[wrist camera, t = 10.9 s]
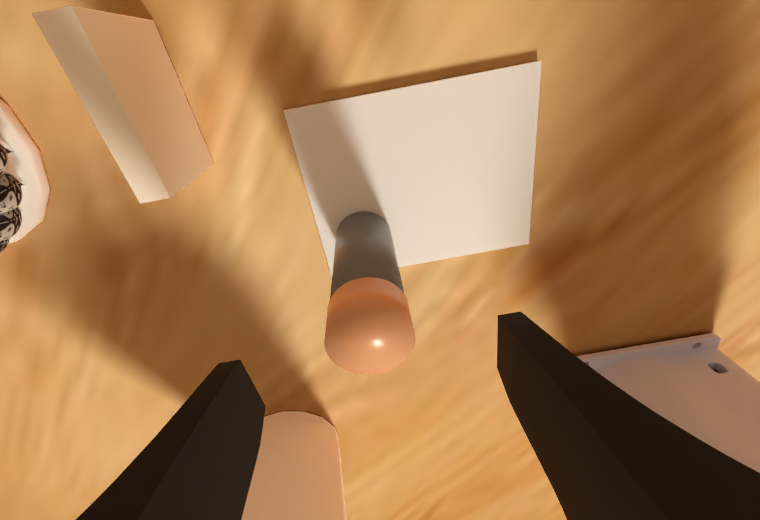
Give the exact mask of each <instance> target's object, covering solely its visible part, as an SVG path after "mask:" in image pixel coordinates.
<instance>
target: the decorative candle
mask: <svg viewBox="0 0 760 520" xmlns="http://www.w3.org/2000/svg"><path fill="white" fill-rule="evenodd" d="M50 190H51V188H50V185H49V181H48V178H47V174H46V171H45V167H44V164H43V160H42V157H41V153H40V150H39V148H38V147H37V146H36V144H35V143H34V141H33V140H32V138H31V137H30V136H29V134H28V133H27V131H26V130H25V128H24V127H23V125H22V124H21V123H20V121H19V120H18V118H17V117H16V115H15V114H14V113H13V111H12V110H11V108H10V107H9V105H7V104H6V103H5V102H4V101H3V100H2V99H0V252H1V251H3V250H4V249H5V248H6V246H7V245H8V244H9V243H14V242H17V241H19V240H20V239H22V238H23V237H24V236H26V235H27V234H28V233H29V232H30V231H31V230H32V229H34V228H35V227H36V226H37V225H38V224H39V223H40V222H42V221H43V220H44V217H45V212H46V208H47V203H48V199H49V195H50Z"/></svg>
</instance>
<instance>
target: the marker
mask: <svg viewBox="0 0 760 520" xmlns="http://www.w3.org/2000/svg"><path fill="white" fill-rule="evenodd" d="M414 345H415V333H414V329H413V324H412V320H411V315H410V311H409V306H408V302H407V299H406V296H405V295H404V291H403V286H402V281H401V277H400V272H399V268H398V263H397V258H396V254H395V249H394V245H393V240H392V236H391V231H390V228H389V225H388V224H387V222H386V221H385V220H384V219H383V218H382V217H381V216H379V215H378V214H375V213H373V212H368V211H359V212H355V213H352V214H350V215H348V216H347V217H345V218H344V219H343V220H342V221H341V223H340V224H339V226H338V228H337V232H336V242H335V253H334V263H333V274H332V285H331V296H330V301H329V304H328V312H327V322H326V333H325V349H326V352H327V354H328V356H329V357H330V359H331V360H332V361H333V362H334V363H335V364H337V365H338V366H339V367H341V368H343V369H345V370H348V371H350V372H354V373H360V374H376V373H381V372H385V371H388V370H391V369H393V368H395V367H397V366H398V365H400V364H401V363H403V362H404V361H405V360H406V359H407V358H408V357H409V355H410V354H411V352H412V350H413V348H414Z"/></svg>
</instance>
